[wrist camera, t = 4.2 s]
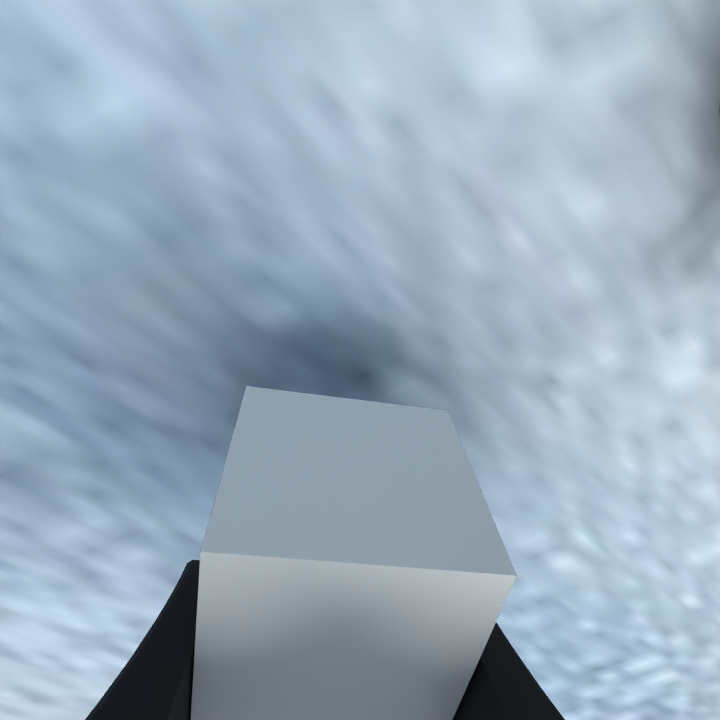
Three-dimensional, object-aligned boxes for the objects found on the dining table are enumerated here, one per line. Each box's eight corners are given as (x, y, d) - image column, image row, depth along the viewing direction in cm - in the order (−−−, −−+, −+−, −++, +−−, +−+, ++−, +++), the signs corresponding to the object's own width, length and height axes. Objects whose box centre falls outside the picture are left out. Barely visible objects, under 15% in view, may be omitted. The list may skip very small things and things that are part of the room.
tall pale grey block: (227, 589, 15) (186, 794, 10) (246, 386, 12) (200, 551, 7) (390, 599, 16) (418, 796, 11) (447, 410, 13) (516, 575, 8)
